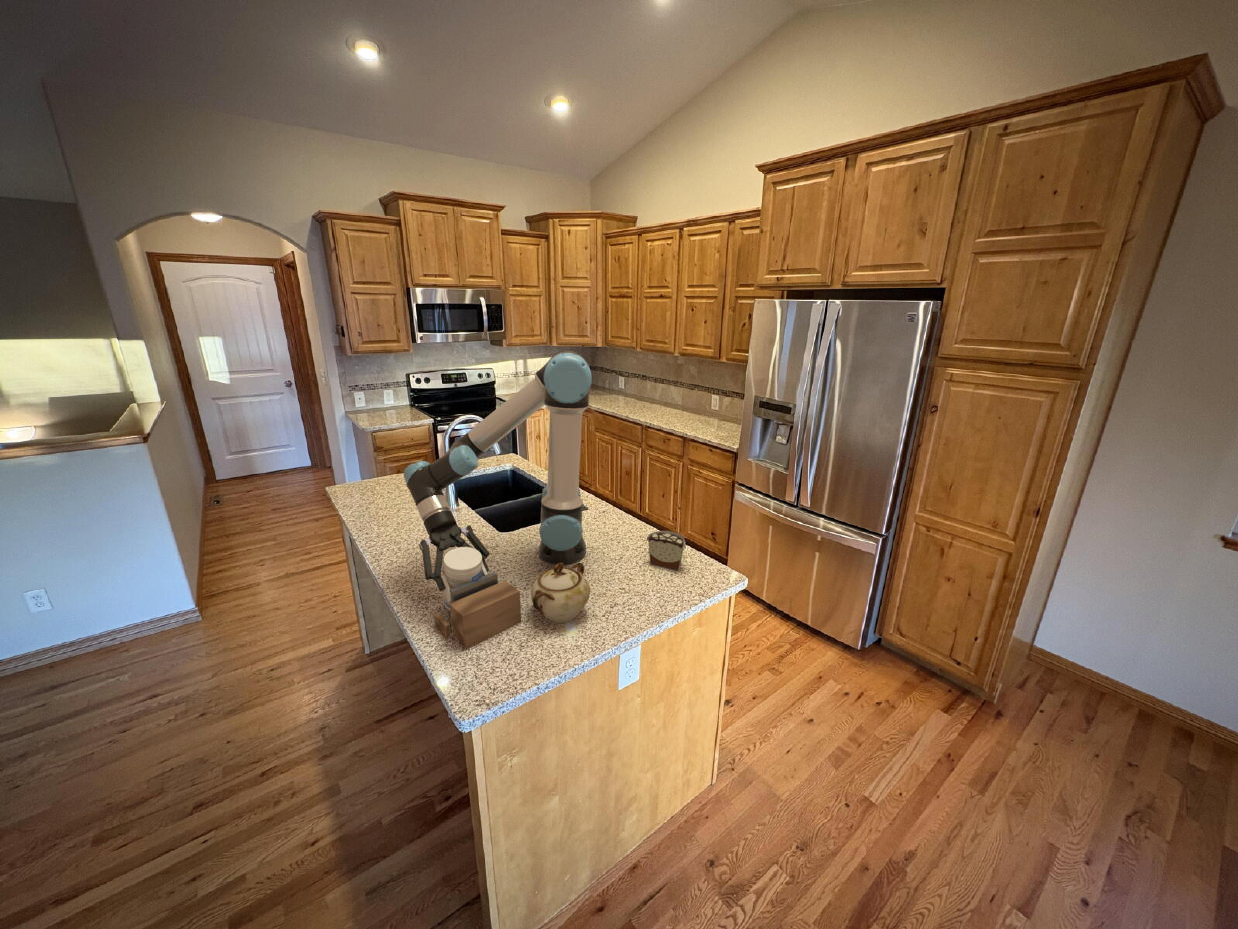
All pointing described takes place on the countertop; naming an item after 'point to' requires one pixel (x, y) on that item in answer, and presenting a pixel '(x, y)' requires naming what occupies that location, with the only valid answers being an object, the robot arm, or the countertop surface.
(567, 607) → the sugar bowl
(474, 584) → the plate
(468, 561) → the supplement tub
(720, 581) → the countertop surface
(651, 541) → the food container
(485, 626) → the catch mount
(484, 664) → the countertop surface
